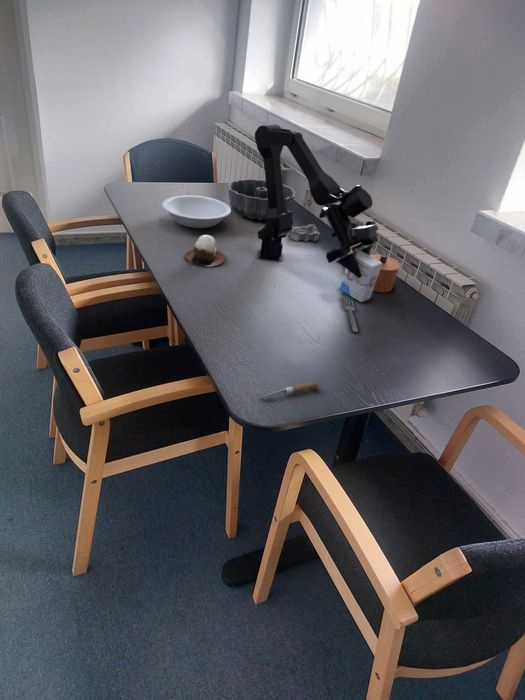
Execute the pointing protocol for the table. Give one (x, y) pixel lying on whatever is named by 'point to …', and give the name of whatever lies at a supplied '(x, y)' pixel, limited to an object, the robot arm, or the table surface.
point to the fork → (351, 314)
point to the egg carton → (304, 233)
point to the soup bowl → (196, 210)
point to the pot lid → (387, 263)
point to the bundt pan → (254, 198)
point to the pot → (385, 281)
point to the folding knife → (292, 389)
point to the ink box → (365, 284)
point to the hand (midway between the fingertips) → (365, 275)
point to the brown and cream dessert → (205, 252)
